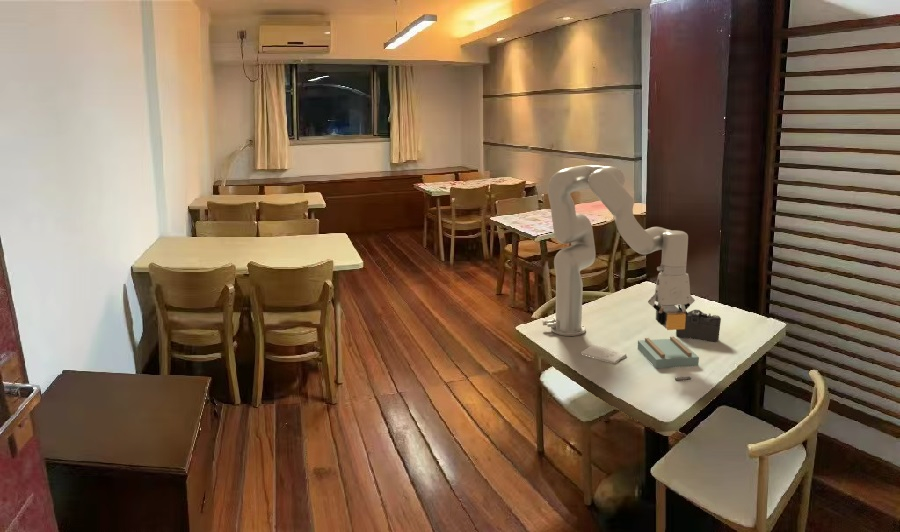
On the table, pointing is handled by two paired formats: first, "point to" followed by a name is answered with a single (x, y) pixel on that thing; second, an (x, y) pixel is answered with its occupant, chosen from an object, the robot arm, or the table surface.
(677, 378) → the grey metal rounded bar
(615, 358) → the external hard drive
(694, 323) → the camera
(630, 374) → the table surface
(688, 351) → the stand
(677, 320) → the block
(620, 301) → the table surface
